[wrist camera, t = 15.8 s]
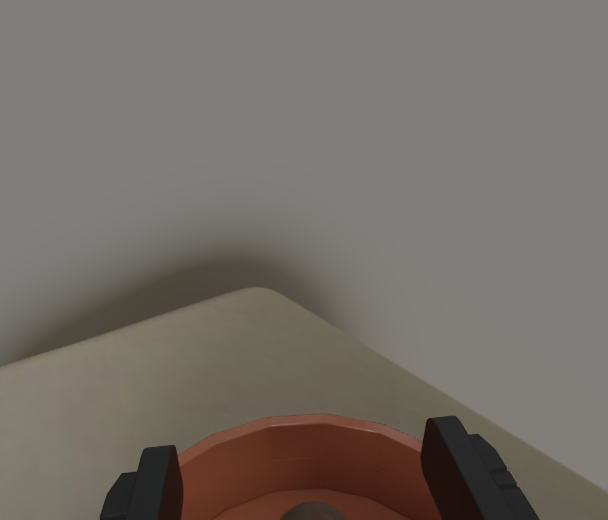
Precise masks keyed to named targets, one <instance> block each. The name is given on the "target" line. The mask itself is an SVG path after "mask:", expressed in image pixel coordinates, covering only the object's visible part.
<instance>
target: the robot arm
mask: <svg viewBox="0 0 608 520" xmlns="http://www.w3.org/2000/svg"><path fill="white" fill-rule="evenodd" d="M420 459H421V467H422V471H423V475H424V478H425V480H426V483H427V485H428V487H429V490H430V492H431V494H432V497H433V499H434V502H435V504H436V506H437V509H438V511H439V513H440V516H441V518H442V520H540V519H539V518H538V516H537V515H536V513H535V511H534V510H533V508H532V507H531V505H530V504H529V502H528V500H527V499H526V497H525V496H524V494H523V493H522V491H521V489H520V488H519V487H517V485H516V482H515V480H514V478H513V477H512V475H511V474H510V472H509V471H507V467H506V466H505V464H504V463H503V461H502V459H501V458H500V456H499V455H498V453H497V452H496V450H495V449H494V448H493V447H492V446H491V445H490V444H489V443H487V442H486V441H485V440H484V439H483V438H482V437H481V436H480V435H478V434H472V435H468V434H467V432H466V430H465V428H464V427H463V425H462V423H461V422H460V420H459V419H458V418H457V417H456V416H445V417H436V418H429V419H428V420H427V422H426V427H425V432H424V438H423V443H422V449H421V455H420ZM182 509H183V480H182V475H181V470H180V466H179V461H178V456H177V451H176V447H175V445H168V446H158V447H149V448H145V449H144V450H143V452H142V455H141V459H140V463H139V466H138V470H137V472H130V473H122V474H121V475H120V477H119V478H118V480H117V481H116V482H115V484H114V485H113V486H112V488H111V489H110V491H109V492H108V493H107V496H106V499H105V502H104V505H103V508H102V512H101V515H100V520H181V516H182Z"/></svg>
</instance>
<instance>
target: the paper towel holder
mask: <svg viewBox="0 0 608 520" xmlns="http://www.w3.org/2000/svg"><path fill="white" fill-rule="evenodd" d="M279 520H348V519H347V518H346V517H345V516H344V515H343V514H342V513H341V512H340V511H338V510H337V509H336V508H334V507H333V506H331V505H329V504H327V503H323V502H319V501H309V502H303V503H300V504H298V505H296V506H294V507H292V508H291V509H289V510H288V511H287V512H286V513H285V514H284V515H283V516H282V517H281V518H280V519H279Z"/></svg>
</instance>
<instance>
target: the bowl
mask: <svg viewBox="0 0 608 520" xmlns="http://www.w3.org/2000/svg"><path fill="white" fill-rule="evenodd" d="M422 443H423V442H422V441H420V440H418V439H416V438H413V437H411V436H409V435H407V434H404V433H402V432H400V431H398V430H395V429H393V428H391V427H389V426H387V425H383V424H380V423H374V422H369V421H364V420H358V419H353V418H348V417H342V416H337V415H332V414H326V415H325V414H308V415H292V416H275V417H266V418H263V419H260V420H257V421H253V422H250V423H247V424H244V425H241V426H238V427H235V428H231V429H228V430H225V431H222V432H219V433H216V434H213V435H211V436H209V437H207V438H206V439H204V440H202V441H201V442H199V443H197V444H196V445H194V446H192V447H191V448H189V449H187V450H186V451H184V452H182V453H181V454H179V455H177V456H178V461H179V466H180V470H181V475H182V480H183V509H182V516H181V520H279V519H280V518H281V517H282V516H283V515H284V514H285V513H286V512H287V511H288V510H289V509H291V508H292V507H294V506H296V505H298V504H300V503H303V502H309V501H319V502H323V503H327V504H329V505H331V506H333V507H334V508H336V509H337V510H338V511H340V512H341V513H342V514H343V515H344V516H345V517H346V518H347V519H348V520H442V518H441V516H440V513H439V511H438V509H437V506H436V504H435V502H434V499H433V497H432V494H431V492H430V490H429V487H428V485H427V483H426V480H425V478H424V475H423V471H422V467H421V459H420V455H421V449H422Z"/></svg>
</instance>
